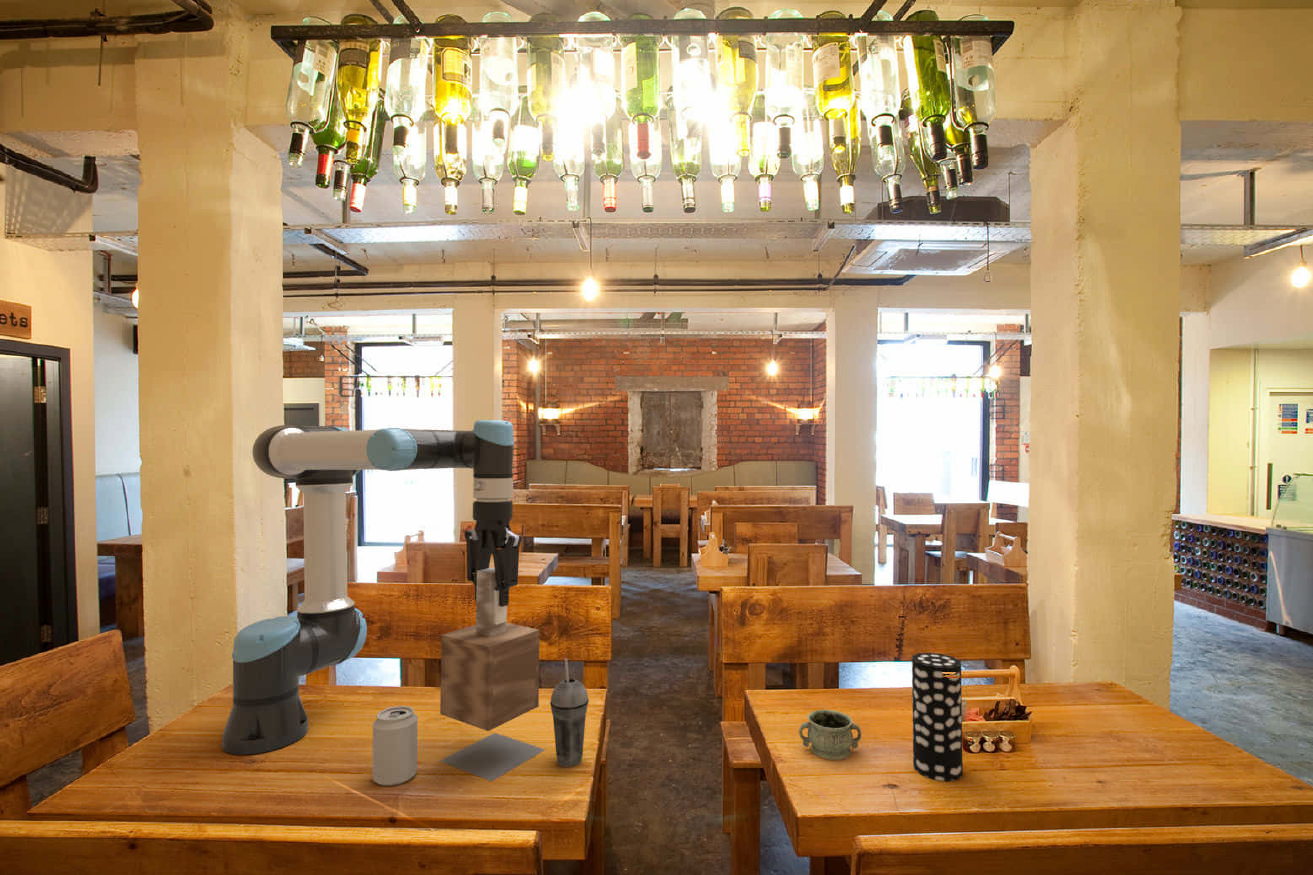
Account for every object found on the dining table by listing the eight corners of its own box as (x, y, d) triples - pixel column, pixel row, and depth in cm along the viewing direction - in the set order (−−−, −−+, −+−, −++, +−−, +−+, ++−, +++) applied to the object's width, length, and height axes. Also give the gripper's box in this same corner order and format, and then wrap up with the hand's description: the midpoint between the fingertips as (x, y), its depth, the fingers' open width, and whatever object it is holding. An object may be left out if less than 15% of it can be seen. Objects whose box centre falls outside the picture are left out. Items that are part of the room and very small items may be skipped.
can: (424, 769, 118) (425, 703, 118) (404, 790, 111) (405, 720, 111) (386, 767, 119) (386, 702, 119) (363, 788, 112) (364, 719, 112)
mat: (439, 762, 121) (439, 760, 121) (494, 734, 132) (494, 732, 132) (491, 783, 113) (491, 780, 113) (545, 751, 125) (545, 749, 125)
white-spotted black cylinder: (959, 762, 120) (958, 655, 120) (965, 784, 112) (963, 669, 112) (912, 755, 122) (910, 650, 123) (914, 776, 115) (913, 664, 115)
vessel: (856, 741, 129) (856, 709, 129) (867, 762, 120) (866, 729, 120) (796, 739, 130) (795, 708, 130) (802, 760, 121) (802, 727, 121)
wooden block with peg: (440, 714, 121) (442, 571, 121) (491, 692, 132) (493, 561, 132) (488, 731, 114) (490, 580, 114) (538, 706, 125) (540, 568, 125)
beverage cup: (596, 758, 122) (595, 653, 122) (575, 776, 115) (575, 664, 116) (564, 750, 125) (563, 648, 125) (542, 767, 118) (542, 659, 119)
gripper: (447, 498, 125) (446, 618, 125) (510, 503, 116) (508, 632, 116) (477, 496, 131) (475, 610, 131) (539, 500, 122) (537, 623, 122)
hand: (491, 620), depth 123 cm, fingers closed on wooden block with peg, 4 cm apart
